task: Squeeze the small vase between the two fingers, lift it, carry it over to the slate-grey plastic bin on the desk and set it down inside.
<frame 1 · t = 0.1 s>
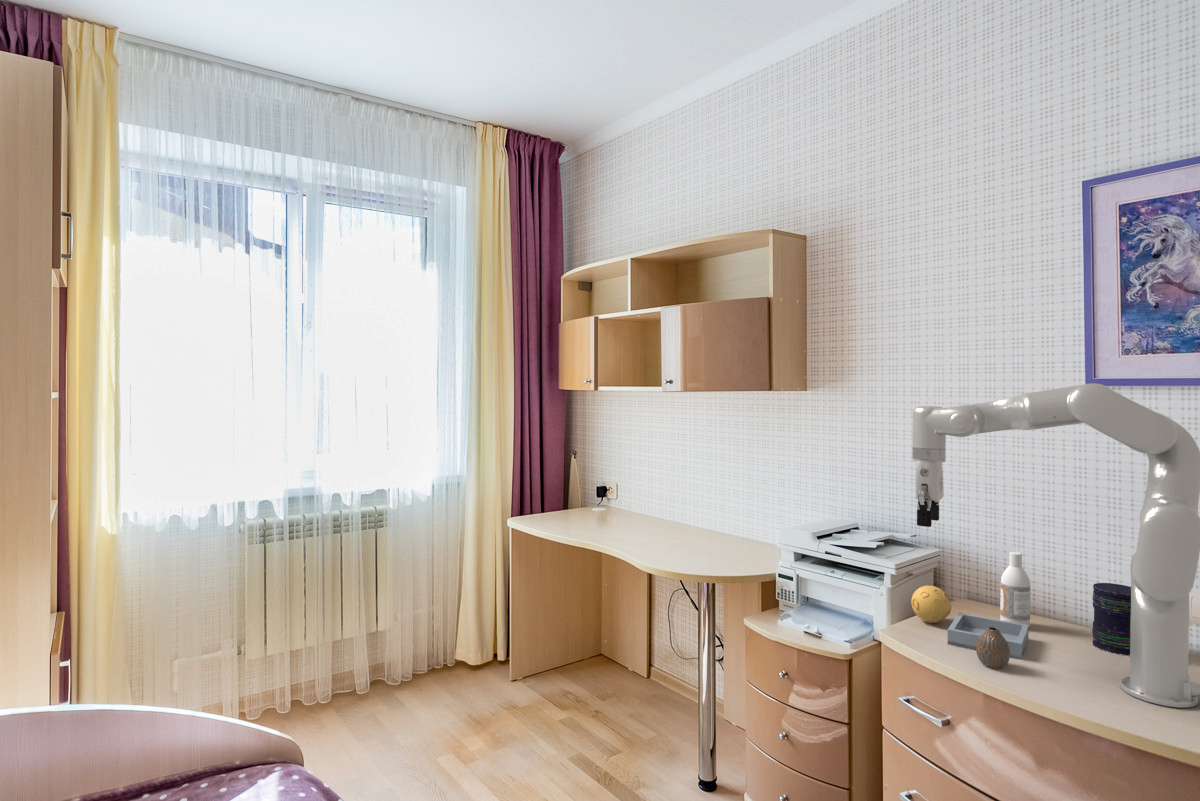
hand: (928, 522, 169), 31 cm above the table, tool pointing down, fingers open, 9 cm apart
stress ball: (930, 622, 186), on the table
bin: (988, 641, 172), on the table
bath foam: (1014, 626, 184), on the table
vase: (992, 666, 157), on the table
storage jar: (1116, 648, 168), on the table
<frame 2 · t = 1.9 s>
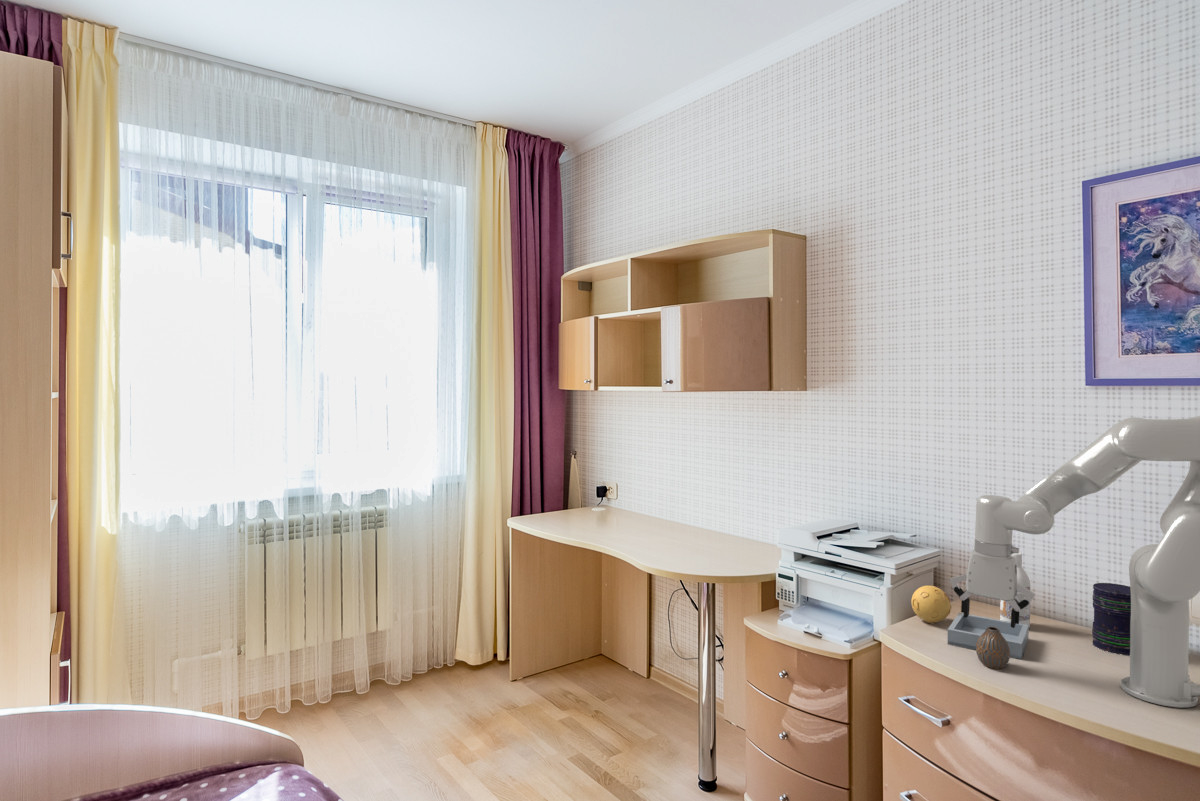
hand: (989, 621, 157), 10 cm above the table, tool pointing down, fingers open, 9 cm apart
nothing on the table moved.
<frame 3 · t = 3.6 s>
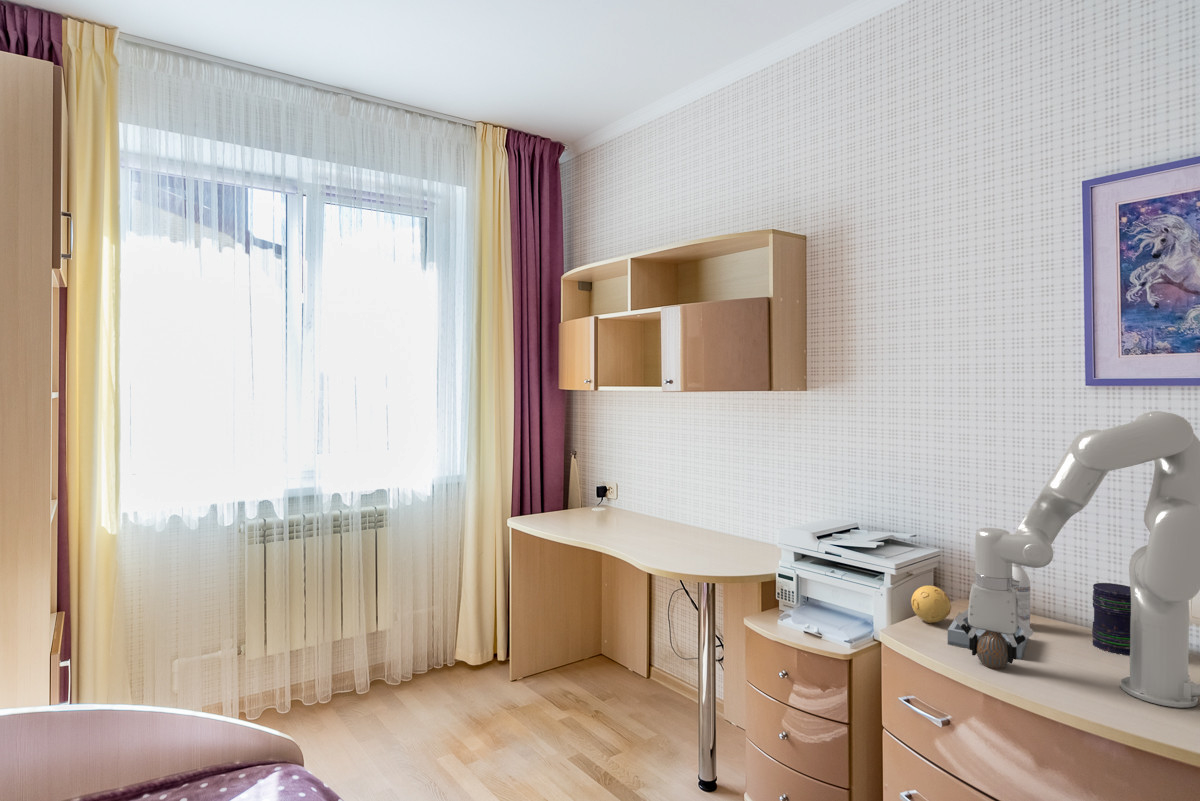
hand: (992, 656, 157), 2 cm above the table, tool pointing down, fingers closed on vase, 6 cm apart
vase: (992, 666, 157), on the table, touching gripper
everything else where it was.
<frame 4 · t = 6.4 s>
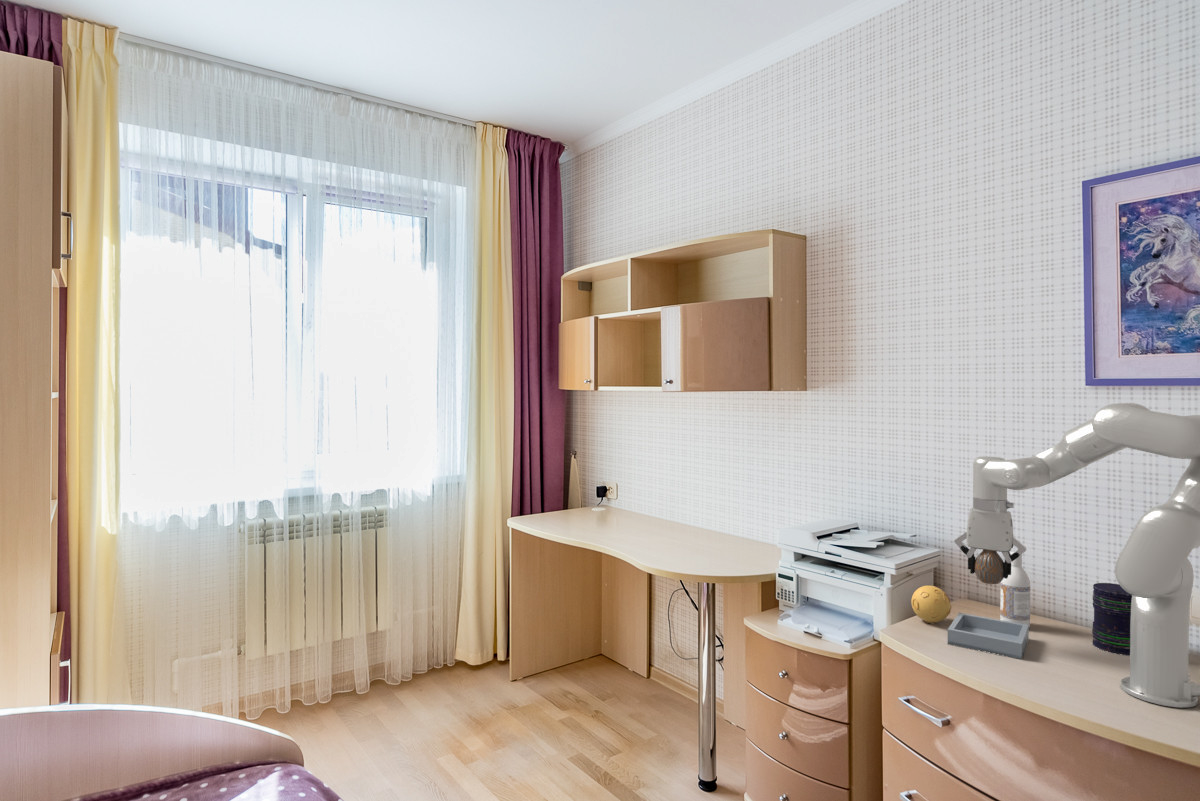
hand: (989, 574, 171), 17 cm above the table, tool pointing down, fingers closed on vase, 6 cm apart
vase: (989, 582, 171), point 15 cm above the table, touching gripper
everything else where it was.
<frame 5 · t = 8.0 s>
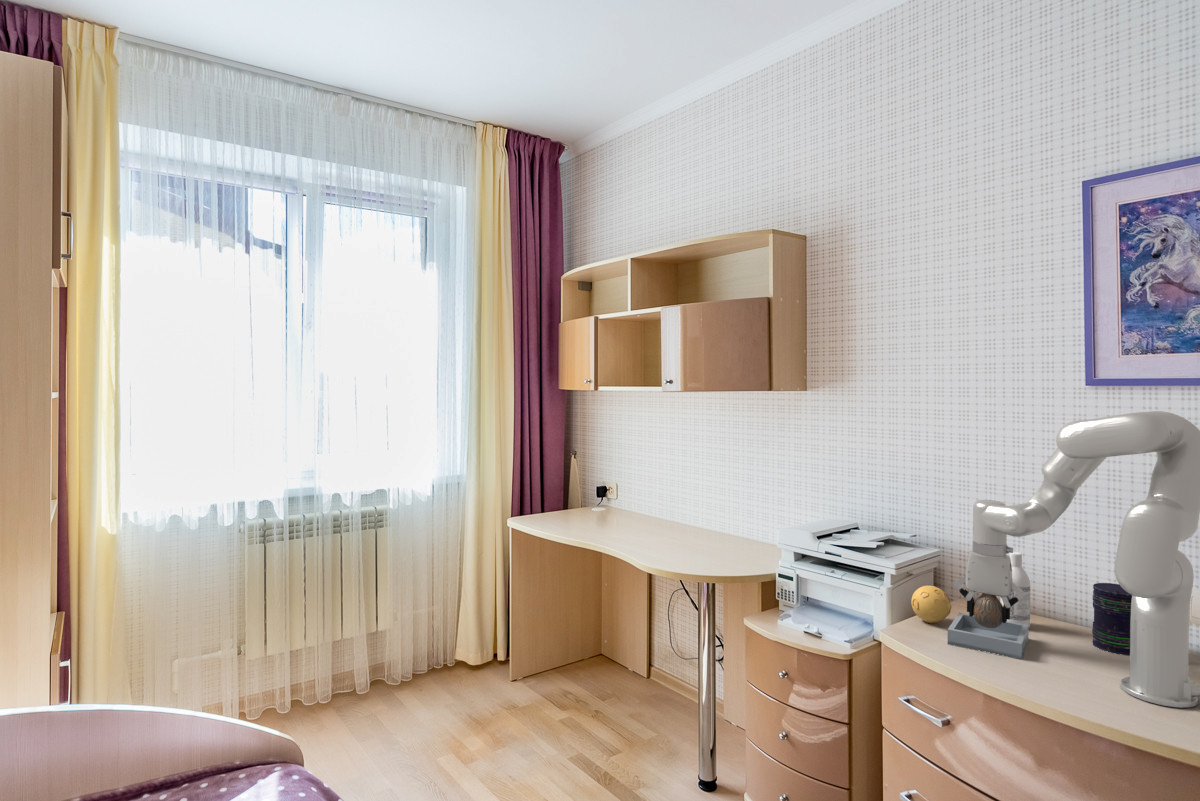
hand: (988, 617, 172), 6 cm above the table, tool pointing down, fingers closed on vase, 6 cm apart
vase: (988, 626, 172), point 4 cm above the table, touching gripper
everything else where it was.
when the fingers open (5 cm above the table, at t = 9.2 s): vase drops 2 cm, resting on bin.
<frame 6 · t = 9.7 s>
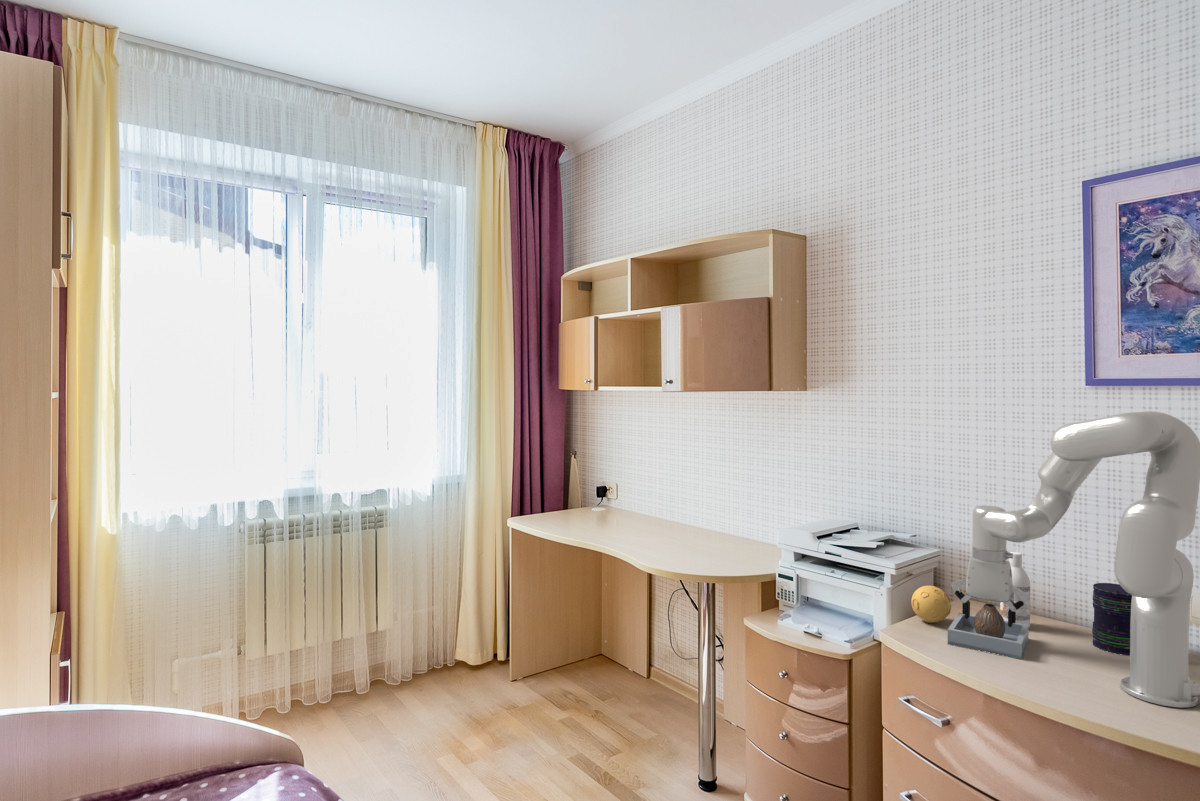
hand: (988, 621, 172), 5 cm above the table, tool pointing down, fingers open, 9 cm apart
vase: (989, 639, 172), point 1 cm above the table, touching bin
everything else where it was.
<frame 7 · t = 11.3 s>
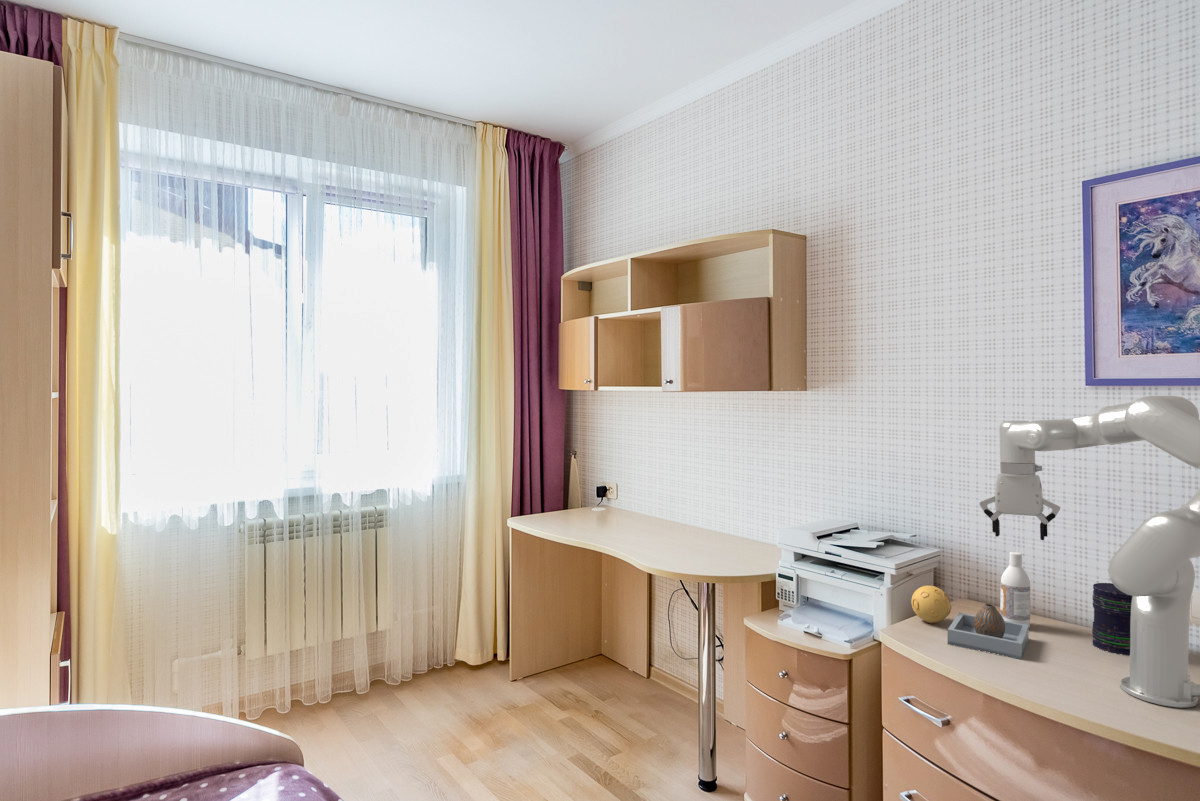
hand: (1019, 537, 169), 27 cm above the table, tool pointing down, fingers open, 9 cm apart
nothing on the table moved.
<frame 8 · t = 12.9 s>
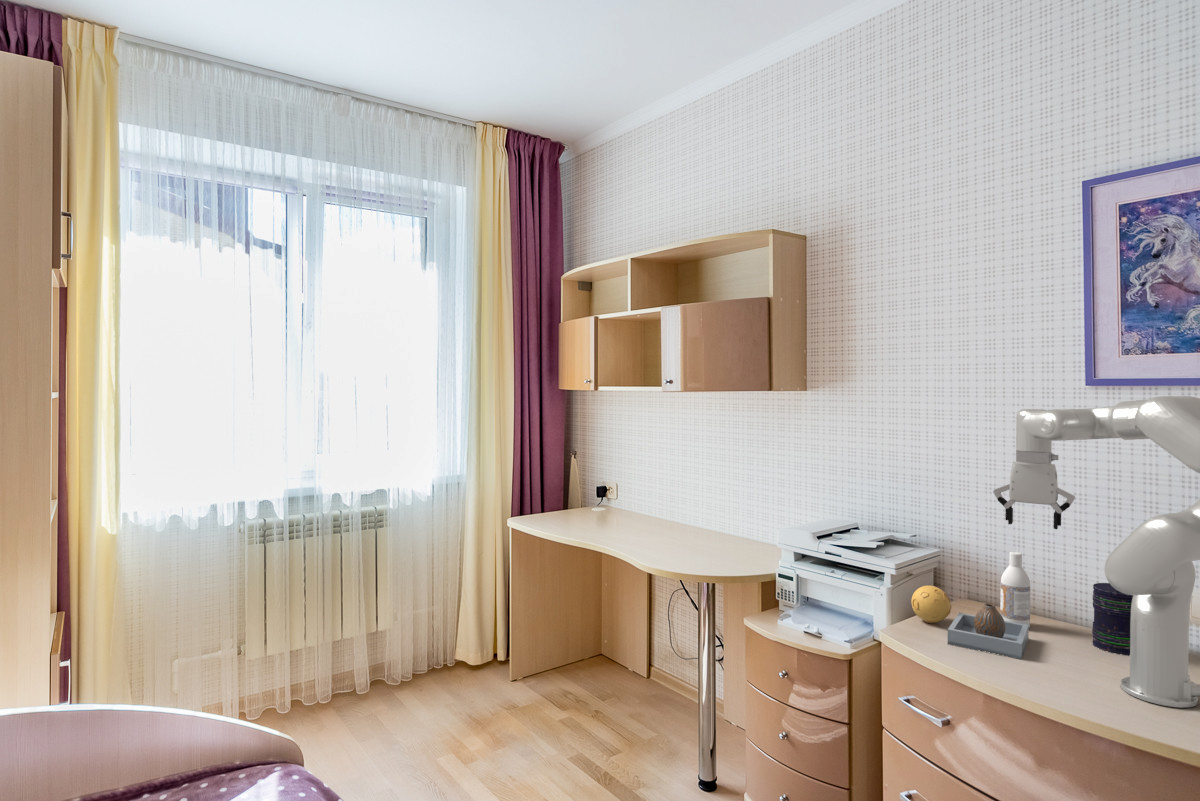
hand: (1032, 525, 169), 30 cm above the table, tool pointing down, fingers open, 9 cm apart
nothing on the table moved.
at the end: vase inside the target area on the bin (0.2 cm from its centre), point 0.6 cm above the bin's base; vase tilted 0°; the gripper is holding nothing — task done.
